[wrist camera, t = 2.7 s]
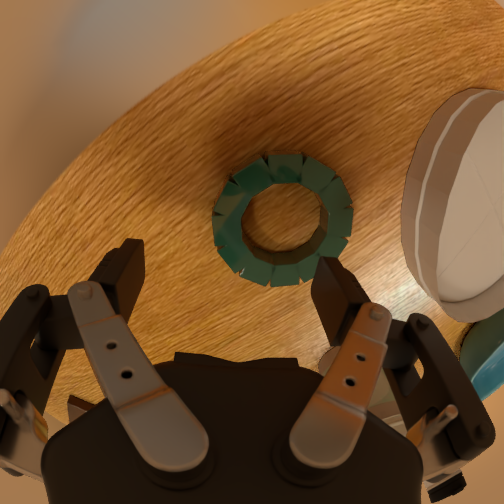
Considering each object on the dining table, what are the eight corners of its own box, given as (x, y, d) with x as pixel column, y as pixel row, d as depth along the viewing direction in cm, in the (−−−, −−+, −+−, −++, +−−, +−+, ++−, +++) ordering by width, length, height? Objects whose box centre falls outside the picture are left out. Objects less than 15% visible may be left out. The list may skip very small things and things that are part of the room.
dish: (349, 216, 20) (380, 247, 15) (481, 44, 13) (520, 44, 8) (452, 322, 27) (472, 349, 23) (543, 196, 20) (568, 211, 16)
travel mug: (433, 392, 36) (475, 481, 19) (421, 410, 39) (456, 492, 22) (403, 404, 36) (443, 501, 18) (393, 421, 39) (426, 509, 22)
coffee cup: (383, 321, 25) (437, 417, 15) (375, 370, 29) (411, 452, 19) (301, 344, 26) (333, 458, 15) (308, 390, 30) (330, 480, 19)
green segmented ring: (193, 245, 20) (190, 257, 18) (253, 125, 16) (255, 127, 15) (301, 288, 23) (306, 302, 21) (365, 190, 19) (376, 198, 17)
